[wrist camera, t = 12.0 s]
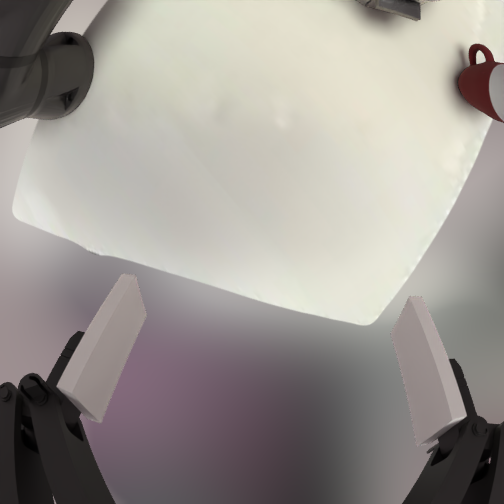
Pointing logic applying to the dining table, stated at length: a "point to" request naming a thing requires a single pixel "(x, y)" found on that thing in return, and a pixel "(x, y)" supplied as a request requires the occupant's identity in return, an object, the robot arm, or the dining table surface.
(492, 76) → the mug
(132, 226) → the dining table surface
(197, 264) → the dining table surface
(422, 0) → the lid
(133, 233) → the dining table surface
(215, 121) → the dining table surface
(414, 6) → the pot
